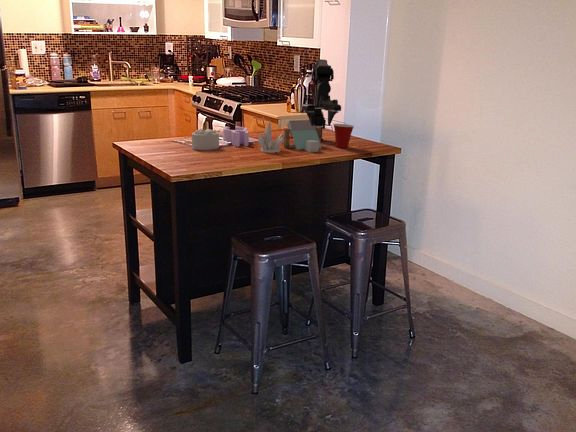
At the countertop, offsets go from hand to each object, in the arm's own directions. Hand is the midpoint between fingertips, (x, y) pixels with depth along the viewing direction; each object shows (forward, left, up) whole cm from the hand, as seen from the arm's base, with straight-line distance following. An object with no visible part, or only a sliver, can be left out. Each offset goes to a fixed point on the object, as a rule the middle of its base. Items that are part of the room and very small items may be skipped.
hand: (320, 125), depth 268 cm
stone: (+2, -7, -11) cm, 13 cm away
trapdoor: (+2, -14, -8) cm, 17 cm away
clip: (+30, -33, -13) cm, 47 cm away
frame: (+2, -14, -13) cm, 19 cm away
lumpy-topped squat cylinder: (+50, -25, -13) cm, 58 cm away
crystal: (+21, -10, -13) cm, 27 cm away
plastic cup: (-18, -8, -13) cm, 24 cm away
